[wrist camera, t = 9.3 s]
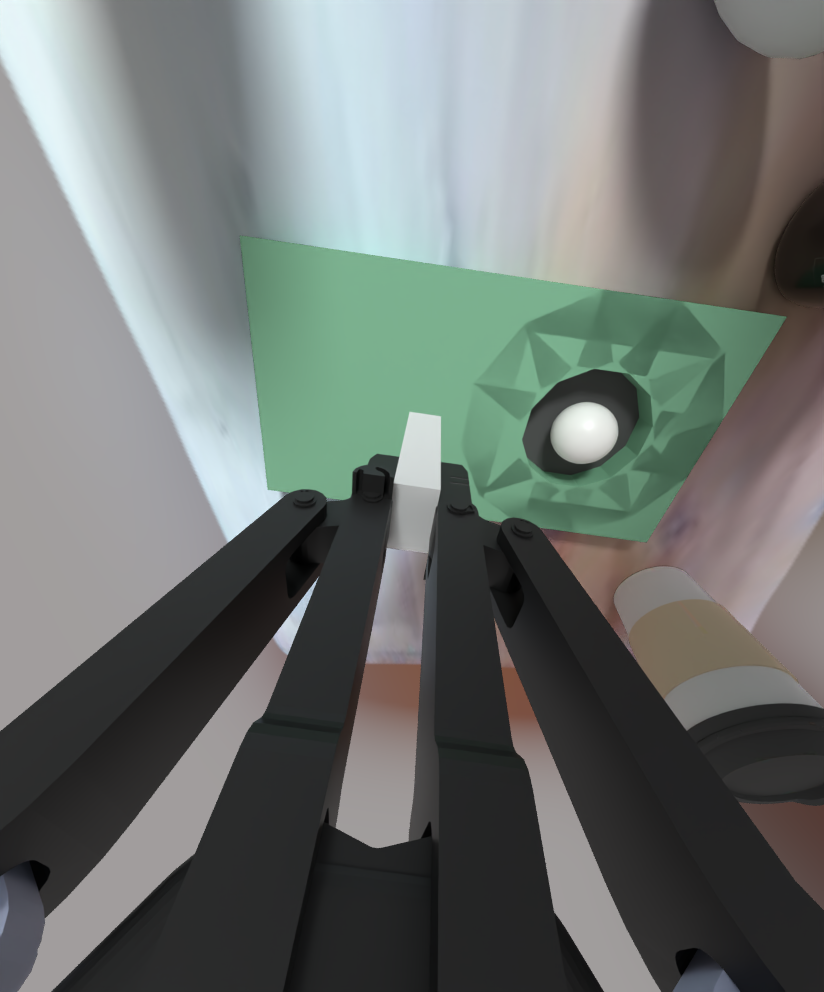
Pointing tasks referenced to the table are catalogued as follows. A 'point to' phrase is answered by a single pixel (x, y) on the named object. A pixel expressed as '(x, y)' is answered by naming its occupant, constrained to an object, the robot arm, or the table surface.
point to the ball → (584, 433)
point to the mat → (488, 380)
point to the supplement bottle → (803, 254)
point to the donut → (776, 26)
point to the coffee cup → (725, 689)
